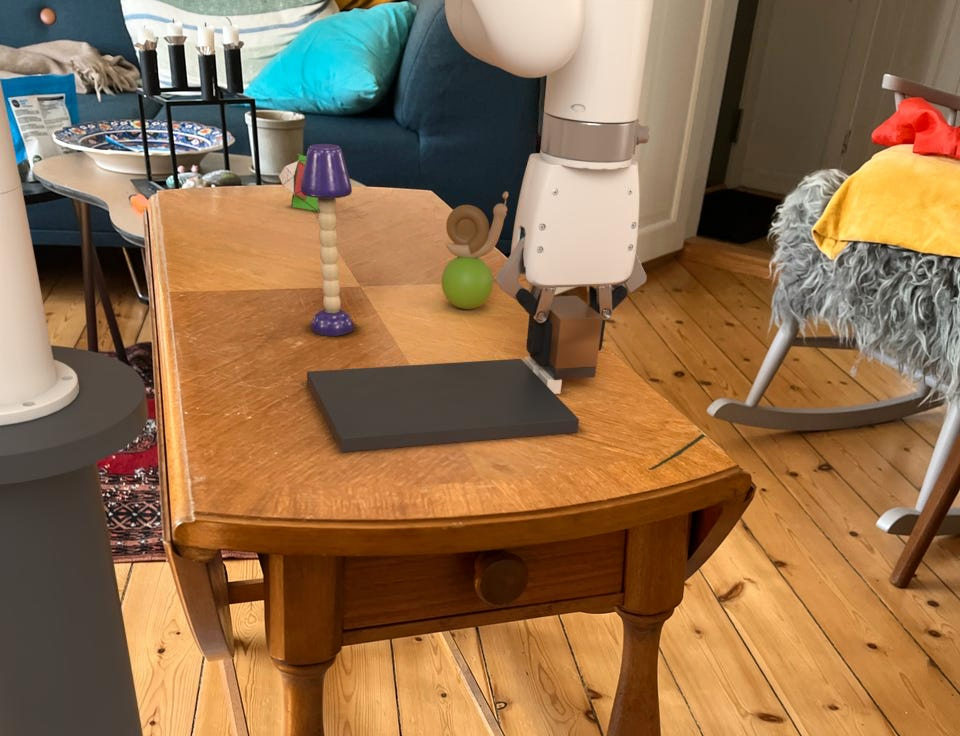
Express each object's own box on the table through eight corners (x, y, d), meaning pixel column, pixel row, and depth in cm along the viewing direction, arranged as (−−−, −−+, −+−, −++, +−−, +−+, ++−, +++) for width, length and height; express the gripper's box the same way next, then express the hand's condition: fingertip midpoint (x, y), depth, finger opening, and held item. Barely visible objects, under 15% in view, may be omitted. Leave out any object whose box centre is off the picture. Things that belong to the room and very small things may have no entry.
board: (341, 452, 80) (340, 438, 79) (307, 384, 91) (306, 371, 90) (577, 432, 86) (579, 419, 85) (519, 370, 97) (520, 358, 96)
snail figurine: (495, 319, 108) (504, 198, 101) (436, 312, 109) (440, 191, 102) (503, 304, 112) (512, 186, 105) (446, 297, 113) (450, 180, 106)
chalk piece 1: (533, 365, 94) (547, 364, 95) (524, 356, 96) (538, 355, 96) (532, 380, 95) (546, 379, 95) (522, 370, 97) (536, 369, 97)
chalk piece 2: (547, 379, 91) (562, 379, 92) (538, 369, 93) (553, 369, 94) (546, 394, 92) (560, 394, 93) (537, 384, 94) (551, 384, 94)
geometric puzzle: (305, 180, 145) (285, 135, 138) (349, 187, 143) (331, 142, 136) (286, 221, 143) (265, 178, 136) (330, 228, 141) (310, 185, 134)
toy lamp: (298, 331, 101) (291, 147, 92) (317, 317, 105) (311, 138, 96) (344, 339, 101) (341, 153, 91) (361, 324, 104) (360, 144, 95)
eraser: (554, 380, 91) (560, 318, 88) (530, 356, 96) (535, 296, 93) (595, 377, 93) (603, 316, 89) (569, 353, 97) (576, 295, 94)
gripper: (659, 132, 89) (628, 341, 99) (475, 130, 84) (462, 350, 94) (701, 150, 83) (663, 369, 94) (505, 149, 78) (489, 381, 89)
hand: (562, 357), depth 94 cm, fingers closed on eraser, 4 cm apart
